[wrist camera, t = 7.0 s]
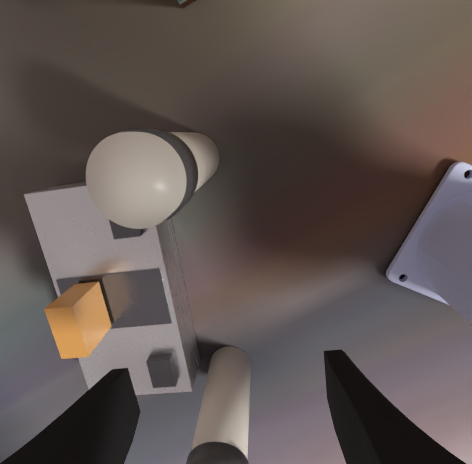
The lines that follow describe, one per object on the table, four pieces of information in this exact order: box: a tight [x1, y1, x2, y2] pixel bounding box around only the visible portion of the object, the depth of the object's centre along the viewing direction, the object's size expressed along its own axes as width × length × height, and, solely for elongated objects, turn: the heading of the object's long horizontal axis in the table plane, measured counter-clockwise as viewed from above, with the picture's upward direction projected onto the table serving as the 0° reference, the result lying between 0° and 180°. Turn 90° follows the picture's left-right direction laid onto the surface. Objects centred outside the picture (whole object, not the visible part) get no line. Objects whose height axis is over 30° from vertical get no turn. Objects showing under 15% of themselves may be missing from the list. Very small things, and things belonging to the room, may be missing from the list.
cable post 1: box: [86, 128, 219, 229], centre depth 15 cm, size 3×3×10 cm
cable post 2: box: [186, 346, 251, 464], centre depth 19 cm, size 3×3×10 cm
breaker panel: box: [24, 182, 200, 395], centre depth 20 cm, size 7×14×4 cm, turn 8°
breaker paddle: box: [44, 282, 111, 359], centre depth 18 cm, size 2×3×3 cm, turn 8°
